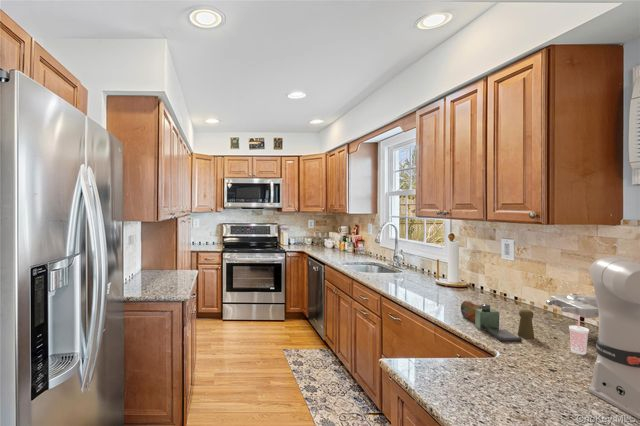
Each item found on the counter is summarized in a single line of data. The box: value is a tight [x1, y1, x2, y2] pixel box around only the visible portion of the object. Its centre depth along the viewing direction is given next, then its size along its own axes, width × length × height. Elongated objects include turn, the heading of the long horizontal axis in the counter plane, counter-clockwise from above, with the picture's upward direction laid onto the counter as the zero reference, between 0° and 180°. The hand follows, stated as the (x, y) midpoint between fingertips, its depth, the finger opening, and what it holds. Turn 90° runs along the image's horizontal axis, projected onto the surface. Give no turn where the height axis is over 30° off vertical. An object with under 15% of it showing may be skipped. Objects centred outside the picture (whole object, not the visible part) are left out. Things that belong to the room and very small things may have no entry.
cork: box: [517, 308, 535, 340], centre depth 146 cm, size 6×6×11 cm
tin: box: [460, 300, 481, 323], centre depth 165 cm, size 15×3×8 cm, turn 14°
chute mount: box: [474, 303, 523, 343], centre depth 148 cm, size 18×10×10 cm, turn 1°
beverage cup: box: [568, 315, 590, 356], centre depth 130 cm, size 6×6×14 cm
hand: (554, 306), depth 146 cm, fingers open, 8 cm apart
